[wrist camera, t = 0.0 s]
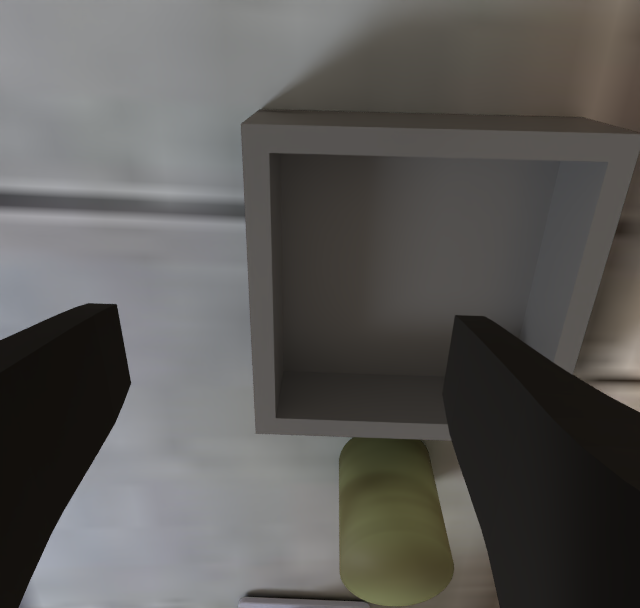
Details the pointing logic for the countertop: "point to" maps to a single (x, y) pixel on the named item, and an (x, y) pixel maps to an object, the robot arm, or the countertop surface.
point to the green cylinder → (391, 523)
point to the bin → (415, 254)
